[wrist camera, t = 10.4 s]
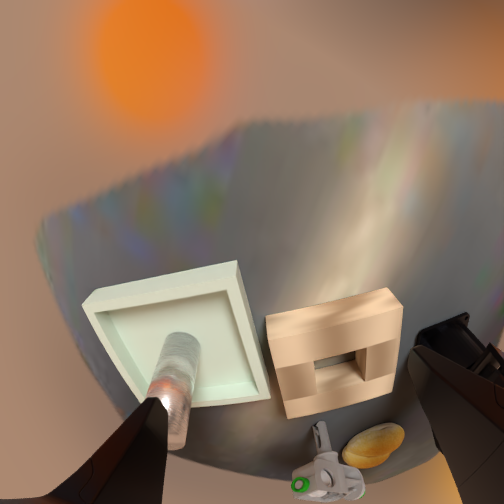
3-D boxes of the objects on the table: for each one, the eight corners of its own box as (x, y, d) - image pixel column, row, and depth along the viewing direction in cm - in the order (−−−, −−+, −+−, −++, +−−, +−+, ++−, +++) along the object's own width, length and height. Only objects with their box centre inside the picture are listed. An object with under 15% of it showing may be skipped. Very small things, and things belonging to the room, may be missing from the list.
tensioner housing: (386, 287, 21) (403, 306, 18) (381, 371, 25) (391, 391, 22) (265, 315, 22) (267, 340, 19) (284, 395, 25) (287, 419, 22)
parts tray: (237, 259, 20) (235, 276, 18) (269, 378, 24) (270, 398, 22) (95, 289, 21) (81, 304, 18) (150, 390, 25) (144, 408, 23)
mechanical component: (334, 439, 29) (349, 504, 20) (278, 417, 27) (286, 498, 17) (352, 428, 29) (372, 494, 19) (298, 404, 26) (312, 488, 17)
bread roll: (409, 416, 29) (419, 438, 25) (378, 450, 32) (385, 470, 29) (360, 422, 28) (368, 447, 25) (332, 455, 32) (337, 477, 28)
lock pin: (193, 328, 21) (172, 424, 13) (205, 357, 22) (192, 450, 14) (158, 334, 21) (126, 424, 13) (172, 361, 22) (149, 449, 14)
